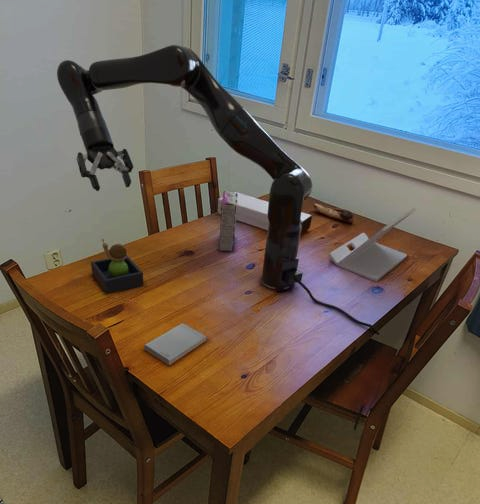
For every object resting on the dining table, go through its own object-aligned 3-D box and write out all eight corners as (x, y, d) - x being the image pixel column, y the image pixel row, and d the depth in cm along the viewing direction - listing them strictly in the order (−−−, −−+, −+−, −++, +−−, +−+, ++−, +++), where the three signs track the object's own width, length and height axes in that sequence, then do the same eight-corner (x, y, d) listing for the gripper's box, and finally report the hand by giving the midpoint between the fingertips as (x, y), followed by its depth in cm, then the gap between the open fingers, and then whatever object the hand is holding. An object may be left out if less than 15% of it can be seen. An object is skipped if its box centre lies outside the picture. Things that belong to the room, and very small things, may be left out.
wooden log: (359, 221, 183) (320, 206, 191) (362, 210, 180) (323, 195, 189) (348, 226, 177) (309, 211, 185) (351, 215, 174) (311, 200, 182)
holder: (143, 285, 129) (143, 272, 126) (106, 294, 124) (105, 280, 121) (127, 267, 136) (126, 254, 134) (92, 274, 131) (90, 261, 129)
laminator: (309, 230, 170) (312, 215, 167) (294, 241, 161) (297, 225, 158) (232, 206, 183) (233, 191, 180) (215, 214, 174) (216, 199, 171)
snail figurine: (104, 273, 131) (101, 235, 124) (127, 272, 133) (125, 234, 126) (106, 283, 127) (102, 244, 120) (129, 281, 129) (127, 242, 122)
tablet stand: (407, 256, 159) (422, 210, 150) (376, 281, 143) (391, 231, 133) (360, 239, 168) (372, 194, 158) (326, 260, 151) (337, 211, 141)
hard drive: (169, 360, 101) (206, 336, 110) (143, 344, 105) (181, 321, 113) (169, 366, 102) (206, 341, 111) (144, 350, 106) (181, 327, 114)
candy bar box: (220, 236, 159) (223, 190, 150) (234, 237, 159) (238, 191, 150) (218, 250, 150) (221, 202, 141) (233, 252, 150) (237, 204, 141)
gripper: (70, 126, 119) (90, 184, 118) (122, 124, 126) (141, 178, 125) (66, 142, 126) (85, 197, 125) (116, 139, 133) (134, 190, 132)
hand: (113, 187), depth 125 cm, fingers open, 8 cm apart
